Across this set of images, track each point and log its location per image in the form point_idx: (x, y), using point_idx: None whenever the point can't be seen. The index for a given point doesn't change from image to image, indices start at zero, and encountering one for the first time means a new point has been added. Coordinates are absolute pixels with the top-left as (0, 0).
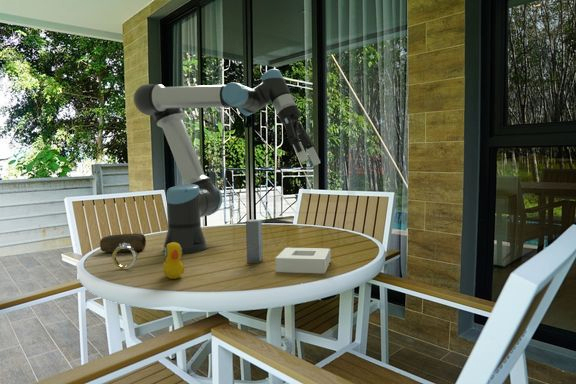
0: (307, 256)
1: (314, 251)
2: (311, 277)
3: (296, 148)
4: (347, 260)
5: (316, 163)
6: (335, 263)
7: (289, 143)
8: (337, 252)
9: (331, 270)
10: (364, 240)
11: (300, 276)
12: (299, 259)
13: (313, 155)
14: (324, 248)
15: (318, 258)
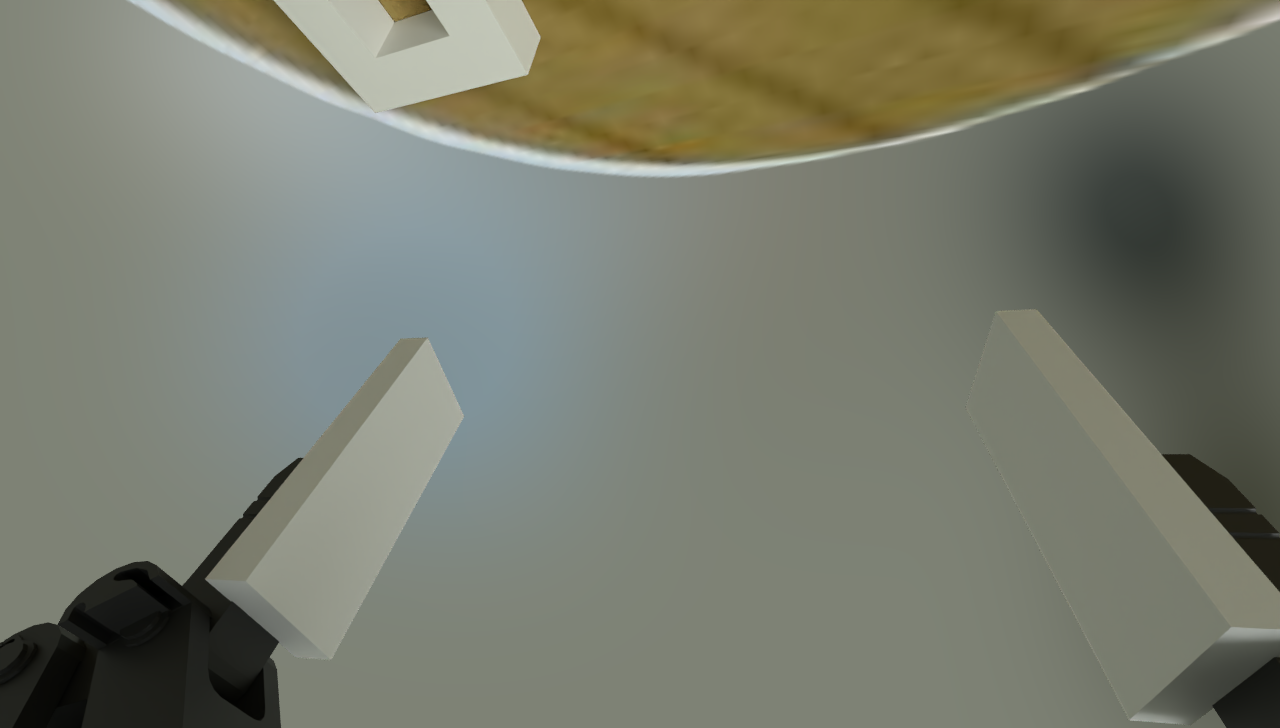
0: (347, 41)
1: (444, 25)
2: None
3: (256, 515)
4: (593, 92)
5: (985, 370)
6: None
7: (66, 609)
8: (719, 4)
9: None
10: (1091, 46)
11: None
12: (297, 23)
13: (1053, 495)
14: (513, 50)
15: (363, 91)
